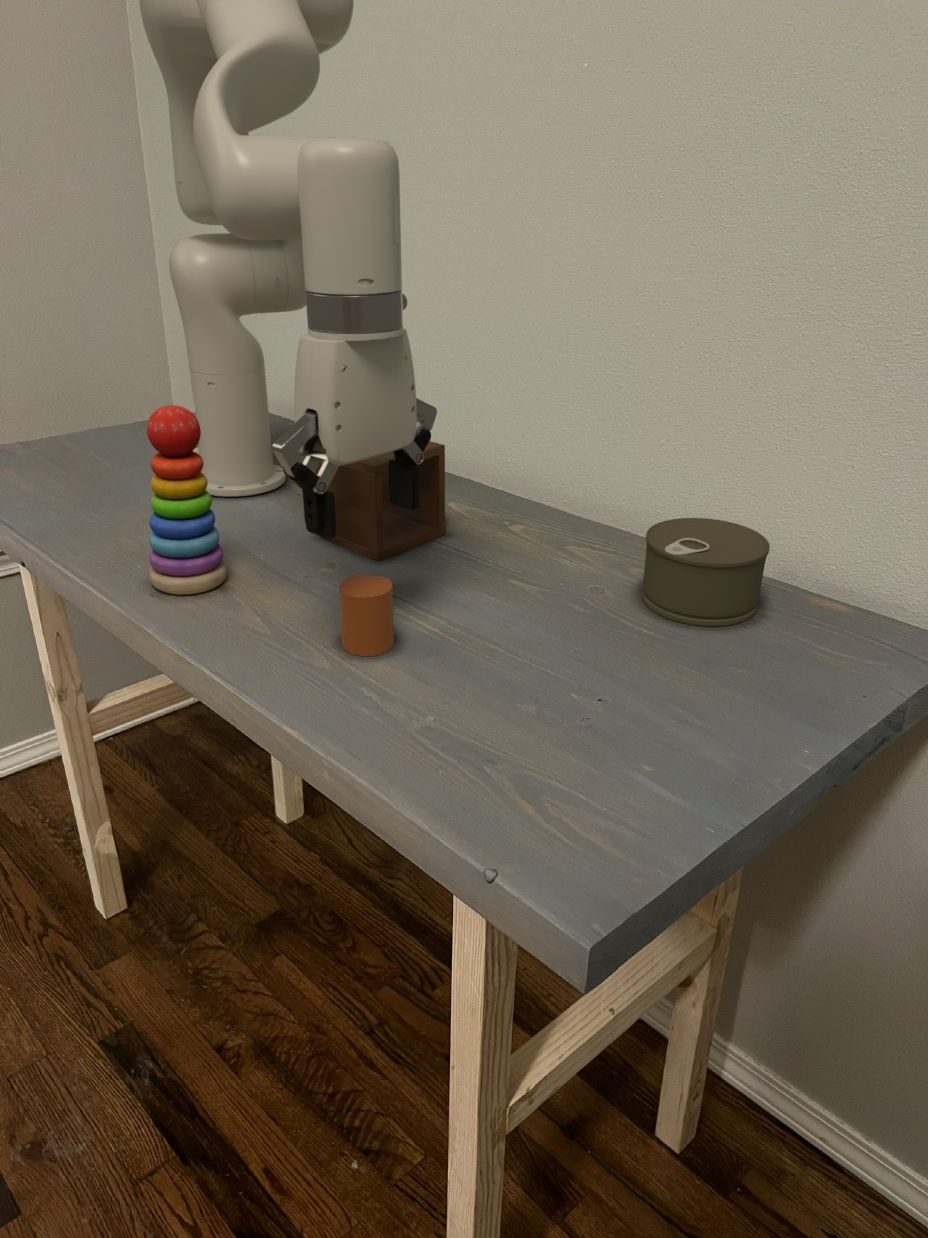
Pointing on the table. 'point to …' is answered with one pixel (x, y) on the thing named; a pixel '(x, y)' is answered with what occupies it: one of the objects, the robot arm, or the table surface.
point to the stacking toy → (181, 508)
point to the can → (703, 571)
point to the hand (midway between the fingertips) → (364, 519)
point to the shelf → (387, 506)
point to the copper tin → (366, 615)
